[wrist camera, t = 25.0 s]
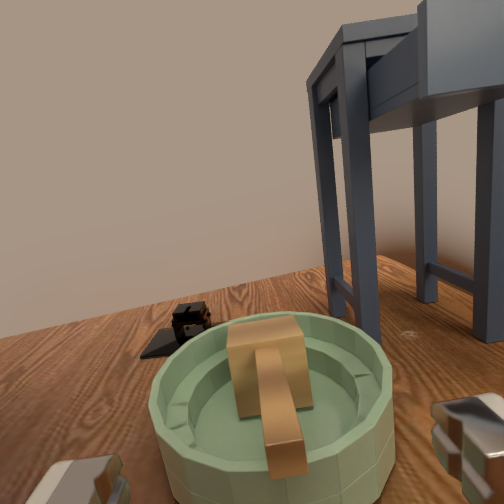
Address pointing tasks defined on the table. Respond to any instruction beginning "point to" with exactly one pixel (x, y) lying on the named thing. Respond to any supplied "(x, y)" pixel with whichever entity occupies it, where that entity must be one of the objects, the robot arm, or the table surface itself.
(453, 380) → the table surface
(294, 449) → the mallet
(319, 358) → the bowl
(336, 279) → the nightstand
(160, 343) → the black slotted stand
